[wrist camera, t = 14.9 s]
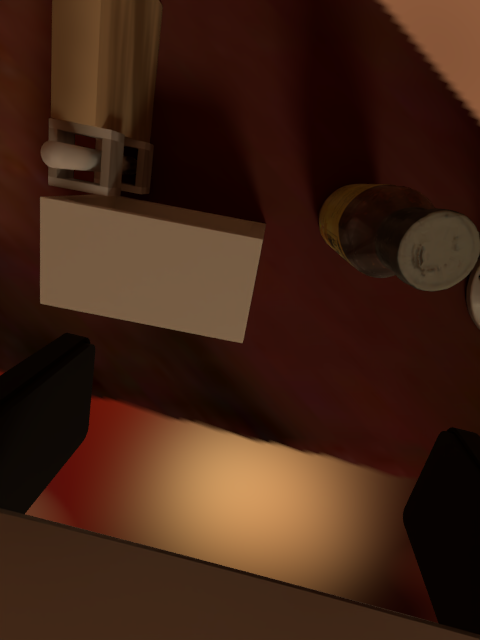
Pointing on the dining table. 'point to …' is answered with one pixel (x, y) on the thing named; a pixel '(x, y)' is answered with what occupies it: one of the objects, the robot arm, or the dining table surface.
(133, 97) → the door
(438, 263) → the sauce bottle
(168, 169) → the dining table surface
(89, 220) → the white box
